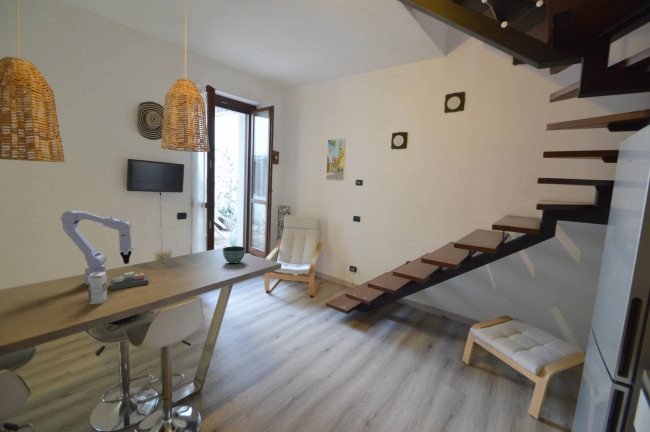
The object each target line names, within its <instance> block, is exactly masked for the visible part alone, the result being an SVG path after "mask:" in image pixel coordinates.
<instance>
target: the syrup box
mask: <svg viewBox="0 0 650 432" xmlns="http://www.w3.org/2000/svg"><path fill="white" fill-rule="evenodd" d="M106 278H107V271H106V272H95V273H92V274H91V275H89V276H88V285H87V287H88V288H87V289H88V304H89V305H99V304H104V303H105V302H106V300H108V285H107V282H108V281H107V282H106Z"/></svg>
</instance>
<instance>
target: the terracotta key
mask: <svg viewBox="0 0 650 432" xmlns="http://www.w3.org/2000/svg"><path fill="white" fill-rule="evenodd" d="M144 275H145V273H144V272H141V273H134V277H135V279H136V280H142V279H144Z"/></svg>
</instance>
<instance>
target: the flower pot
mask: <svg viewBox="0 0 650 432" xmlns="http://www.w3.org/2000/svg"><path fill="white" fill-rule="evenodd" d="M245 252H246V247H244V246H241V245H239V246H237V245H236V246H235V245H234V246H233V245H232V246H231V245H230V246H225V247H223V248H222V254H223V257H224V260H225V261H226V263H227V262H229V263H236V262H240V261H241V262H242V260H243V258H244V257H245ZM241 262H240V263H241Z"/></svg>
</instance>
